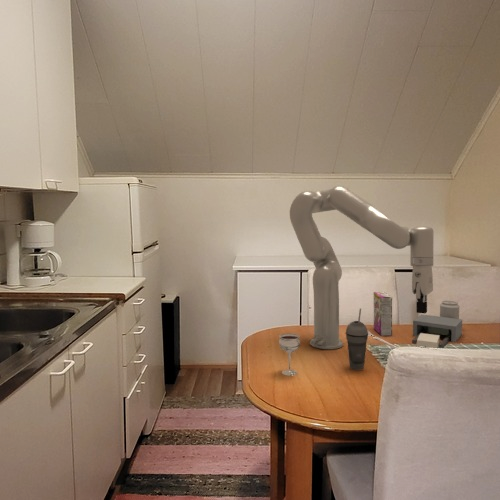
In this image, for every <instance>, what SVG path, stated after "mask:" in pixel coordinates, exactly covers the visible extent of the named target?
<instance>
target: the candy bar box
mask: <svg viewBox="0 0 500 500" xmlns="http://www.w3.org/2000/svg"><path fill="white" fill-rule="evenodd" d="M373 329H374V330H375V331H376V333H378V334H379V335H380V337H381V336H383V337H389V336H393V297H392V296H391V295H390V294H389V293H387V292H385V291H373Z"/></svg>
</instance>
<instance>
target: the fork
mask: <svg viewBox="0 0 500 500" xmlns="http://www.w3.org/2000/svg"><path fill="white" fill-rule="evenodd" d="M367 331H368V336H371V335H372V336H375V335H374V334H372V333H371V332H370V330H367ZM373 339H376V340H377V341H379V342H382V343H384V344H387V345H389V346H391V347H394V348H396V349H398V348H397V347H398V346H396V345H394V344H392V343H390V342H388V341H386V340H384V339H382V338H381V337H378V336H375V337H373Z"/></svg>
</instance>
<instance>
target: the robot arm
mask: <svg viewBox="0 0 500 500" xmlns="http://www.w3.org/2000/svg"><path fill="white" fill-rule="evenodd" d="M330 211H338V212H339V213H341V214H343V215H344V216H345V217H347V218H348V219H349V220H352V221H353V222H354V223H355V224H357V225H359V226H360V227H361V228H362V229H364V230H366V231H368V232H369V233H370V234H372V235H373V236H375V237H376V238H377V239H379V240H381V241H382V242H384V243H385V244H387V245H388V246H389V247H391V248H393V249H395V250H401V249H404V248H406V247H409V248H410V249H409V250H410V251H409V253H410V255H409V257H410V267H412V275H411V276H412V277H411V290H412V291H411V292H412V294H413V295H415V300H416V313H417V314H423V315H426V314H427V312H428V295H429V294H431V292H433V291H434V283H433V282H434V281H433V277H434V276H433V267H434V229H433V228H432V227H430V226H414V227H408V226H407V227H406V226H401V225H399V224H398V223H396V222H394V221H393V220H391V218H388V217H387V216H385V215H384V214H383V213H382V212H381V211H380V210H378V209H377V207H376V206H375V205H373V204H371V203H370V202H369V201H367V200H365V199H364V198H362V197H361V196H359V195H358V194H356V193H354V192H353V191H351V190H350V189H349V188H348V187H346V186H344V185H335V186H333V187H332V188H329V189H323V190H317V191H313V190H304V191H301V192H300V193H299V194H297V196H295V198H294V199H293V201H292V203H291V204H290V209H289V219H290V223H291V226H292V228H293V230H294V232H295V235H296V237H297V239H298V243H299V245H300V247H301V250H302V252H303V255H304V257H305V258H306V259H307V260H308V261H309V262H312V263H313V265H314V267H315V270H314V271H313V275H312V289H313V338H311V339H310V341H309V345H311V346H312V347H313V348H316V349H319V350H336V349H340V348H342V347H343V346H344V342H343V340H342V339H340V291H339V290H340V289H339V281H340V280H341V279H342V276H343V271H342V267H341V264H340V262H339V260H338V258H337V255H336V253H335V251H334V249H333V246H332V245H331V243H330V240H328V239H327V238H325V237H324V236H322V235H321V233H320V231H319V228H318V226H317V224H316V222H315V220H314V218H313V214H317V213H323V212H330Z"/></svg>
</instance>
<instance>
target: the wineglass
mask: <svg viewBox="0 0 500 500" xmlns="http://www.w3.org/2000/svg"><path fill="white" fill-rule="evenodd" d="M300 336H301V335H299V334H297V333H292V332H291V333H290V332H288V333H282V334H279V335H278V337H279V340H278V344H279V345H278V346H279V348H280V349H281V350H282V351H284V352H286V353H287V355H288V369H285V370H282V375H285V376H290V377H291V376H295V375H298V371H297V370H294V369H291V364H292V363H291V360H292V359H291V357H292V354H293V353H294V352H296V351H297V350H298V349H299V347H300V345H301V340H300Z"/></svg>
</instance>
